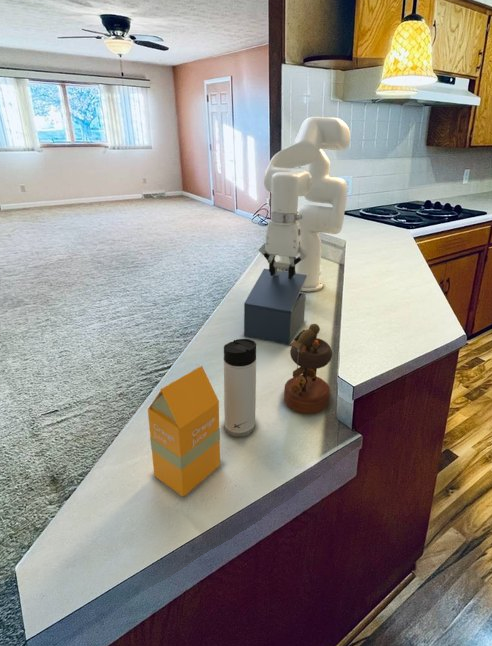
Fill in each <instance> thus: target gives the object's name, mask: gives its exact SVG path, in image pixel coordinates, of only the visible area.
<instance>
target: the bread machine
mask: <svg viewBox="0 0 492 646" xmlns="http://www.w3.org/2000/svg"><path fill="white" fill-rule="evenodd" d="M306 296H307V293H306V292H302V291H301V292H300V294H299V296H298V298H297V301H296V303H295V305H294V308H293V310H292V312H291V313H287V312H281V311H275V310H270V309H264V308H258V307H252V306H247V305H244V306H243V337H244V338H251V339H255V340H261V341H266V342H272V343H276V344H282V345H287V346H289V344H290V343H292V342H293V341H294V339H295V338H296V336H297V334H298V332H299V331H300V328H301V327H302V325H303V324H304V323H305V312H306V311H305V310H306Z"/></svg>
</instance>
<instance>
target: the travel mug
mask: <svg viewBox="0 0 492 646" xmlns="http://www.w3.org/2000/svg"><path fill="white" fill-rule="evenodd" d="M256 387H257V342H256V341H254V340H253V339H249V338H238V339H237V338H236V339H233V341H230V342H228V343H226V344H224V345H223V405H224V406H223V407H224V409H223V410H224V411H223V412H224V416H223V417H224V430H225V431H226V433H227V434H228V435H230V436H232V437H237V438H240V437H241V438H243V437H246V436H249V435H251V434H252V433H253V432H254V430H255V427H256V401H257V400H256V399H257V395H256V394H257V388H256Z"/></svg>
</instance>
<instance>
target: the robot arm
mask: <svg viewBox="0 0 492 646" xmlns="http://www.w3.org/2000/svg"><path fill="white" fill-rule="evenodd" d="M350 142H351V130H350V128H349V126H348V125H347V123H346V122H345V121H343V120H342V119H340V118H338V117H327V116H309V117H307V118H306V119H304V120H303V122H302V123H301V125H300V128H299V130H298V132H297V135H296V137H295V139H294V142H293V143H291V144H290V145H288V146H286V147H284V148H282V149H281V150H280V151H278V152H277V153H275V154H274V155H273V156H272V157H271V158H270V161H269V163H268V164H267V167H266V169H265V173H264V176H263V185H264V188H265V189H266V191H267V192H269V193H270V194H271V195H270V196H271V197H270V219H269V220H268V223H267V227H266V234H265V241H264V243H263V244H262V245H261V246H260V247H259V249H258V252H259V253H261V255H262V256H263V257H264V258H265V259H266V260H267V263H268V269H269V272H270V276H273V275H274V274H275V268H274V266H273V265H274V262H277V260H276V259H275V258H276V256H278V257H279V256H286V257H289V260H290V266H289V275H288V278H289V279H291V278H292V277H293V276H294V275H295V270H296V273H297V274H304V275H307V278H306V280H305V282H304V285H303V287H302V289H301V292H317V291H320V290H321V289H323V285H324V284H323V282H322V281H321V280H320V276H321V275H322V271H321V261H322V249H323V243H322V240H321V238H320V235H319V234H318V233H320V234H329V235H337V234H339V233H341V231H342V229H343V224H344V217H345V212H346V204H347V197H348V183H347V181H346V180H345V179H343V178H341V177H333V176H332V177H331V176H330V172H331V165H332V164H331V161H330V159H329V157H328V156H327V154H326V153H325V151H324V150H327V151H329V150H330V151H345V150H347V149H348V147H349V146H350ZM303 166H306V170H305V169H300V168H301V167H303ZM298 168H299V169H298ZM299 197H304V199H305V200H306V201H308V202H311V203H317V204H318V203H319V204H326V205H327V204H329V205H331V206H332V207H330V206H322V205H315V204H303V205H301V206H298V204H299Z"/></svg>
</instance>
